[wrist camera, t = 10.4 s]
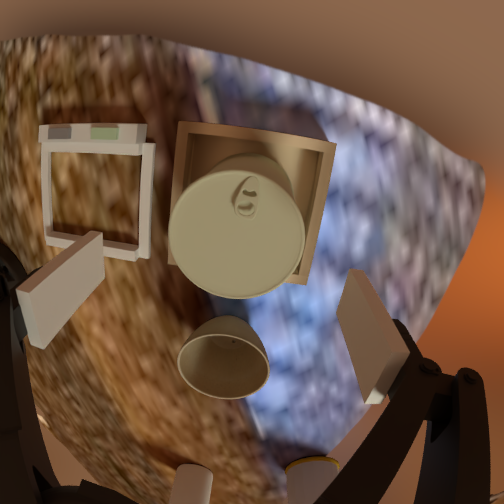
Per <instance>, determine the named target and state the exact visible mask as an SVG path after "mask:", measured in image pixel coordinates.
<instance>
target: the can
mask: <svg viewBox="0 0 504 504" xmlns="http://www.w3.org/2000/svg"><path fill="white" fill-rule="evenodd" d="M168 238H169V245H170V249H171V252H172V255H173V257H174V259H175V261H176V263H177V265H178V267H179V268H180V269H181V271H182V272H183V273H184V274H185V276H186V277H187V278H188V279H189V280H190V281H192V282H193V283H194V284H195V285H197V286H198V287H200V288H201V289H203V290H205V291H207V292H209V293H211V294H214V295H217V296H220V297H225V298H232V299H247V298H253V297H258V296H261V295H264V294H266V293H269V292H270V291H272V290H274V289H276V288H277V287H279V286H280V285H282V284H283V283H284V282H285V281H286V280H287V279H288V278H289V277H290V276H291V275H292V273H293V272H294V271H295V269H296V267H297V266H298V264H299V262H300V260H301V257H302V254H303V250H304V245H305V227H304V222H303V218H302V215H301V212H300V210H299V208H298V206H297V204H296V202H295V199H294V191H293V187H292V184H291V181H290V179H289V177H288V175H287V174H286V172H285V171H284V170H283V169H282V167H281V166H279V165H278V164H277V163H276V162H275V161H273V160H271V159H270V158H268V157H265V156H263V155H259V154H255V153H239V154H235V155H231V156H229V157H227V158H225V159H223V160H221V161H220V162H218V163H217V164H216V165H215V166H214V167H213V168H212V169H211V170H210V172H209V173H207V174H206V175H204V176H202V177H200V178H199V179H197V180H196V181H194V182H193V183H191V184H190V185H189V186H188V187H187V188H186V189H185V190H184V191H183V192H182V193H181V195H180V196H179V198H178V199H177V201H176V203H175V205H174V207H173V209H172V212H171V215H170V219H169V225H168Z"/></svg>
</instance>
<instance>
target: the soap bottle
mask: <svg viewBox="0 0 504 504" xmlns="http://www.w3.org/2000/svg"><path fill="white" fill-rule="evenodd" d="M339 467H340V466H339V463H338V461H336V460H335V459H333V458H329V457H324V456H320V457H308V458H302V459H299V460H297V461H294V462H292V463H291V464H289V465H288V466H287V467H286V470H285V474H286V475H287V494H288V503H289V504H313V503H314V502H315V501H316V500H317V498H318V497H319V496H320V495H321V494H322V493H323V492H324V490H325V489H326V488H327V487H328V486H329V485H330V483H331V482H332V481H333V480H334V479H335V477H336V476H337V475H338V474H339V473H338V469H339Z"/></svg>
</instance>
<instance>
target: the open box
mask: <svg viewBox="0 0 504 504" xmlns="http://www.w3.org/2000/svg"><path fill="white" fill-rule="evenodd" d="M336 145H337V144H336V143H332V142H329V141H324V140H319V139H314V138H309V137H303V136H298V135H292V134H287V133H281V132H274V131H268V130H261V129H254V128H247V127H239V126H231V125H223V124H213V123H203V122H191V121H179V122H178V131H177V140H176V149H175V159H174V170H173V182H172V195H171V209H170V215H171V212H172V209H173V207H174V205H175V203H176V201H177V199H178V198H179V196H180V195H181V193H182V192H183V191H184V190H185V189H186V188H187V187H188V186H189V185H190V184H191V183H193V182H194V181H196V180H197V179H199V178H200V177H202V176H204V175H206V174H207V173H209V172H210V170H211V169H212V168H213V167H214V166H215V165H216V164H217V163H218V162H220V161H221V160H223V159H225V158H227V157H229V156H231V155H235V154H239V153H255V154H259V155H263V156H265V157H268V158H270V159H271V160H273V161H275V162H276V163H277V164H278V165H279V166H281V167H282V169H283V170H284V171H285V172H286V174H287V175H288V177H289V179H290V181H291V184H292V187H293V191H294V199H295V202H296V204H297V206H298V208H299V210H300V212H301V215H302V218H303V222H304V227H305V245H304V250H303V254H302V257H301V260H300V262H299V264H298V266H297V267H296V269H295V271H294V272H293V273H292V275H291V276H290V277H289V278H288V279H287V280H286V281H285V282H286V283H293V284H300V285H306V284H307V280H308V276H309V272H310V268H311V264H312V260H313V255H314V251H315V247H316V242H317V238H318V234H319V229H320V225H321V220H322V216H323V211H324V206H325V201H326V197H327V192H328V187H329V182H330V177H331V172H332V166H333V161H334V156H335V151H336ZM168 264H172V265H177V263H176V261H175V259H174V257H173V255H172V252H171V249H170V245H169V248H168Z"/></svg>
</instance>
